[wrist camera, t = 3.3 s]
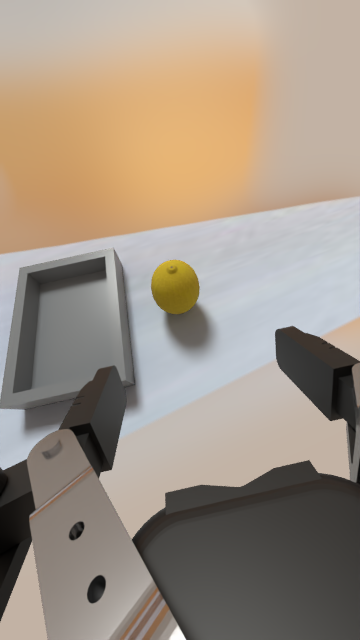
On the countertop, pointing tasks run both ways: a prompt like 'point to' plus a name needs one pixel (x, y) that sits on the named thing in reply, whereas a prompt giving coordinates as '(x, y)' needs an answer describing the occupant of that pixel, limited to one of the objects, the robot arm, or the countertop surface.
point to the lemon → (175, 287)
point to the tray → (66, 329)
